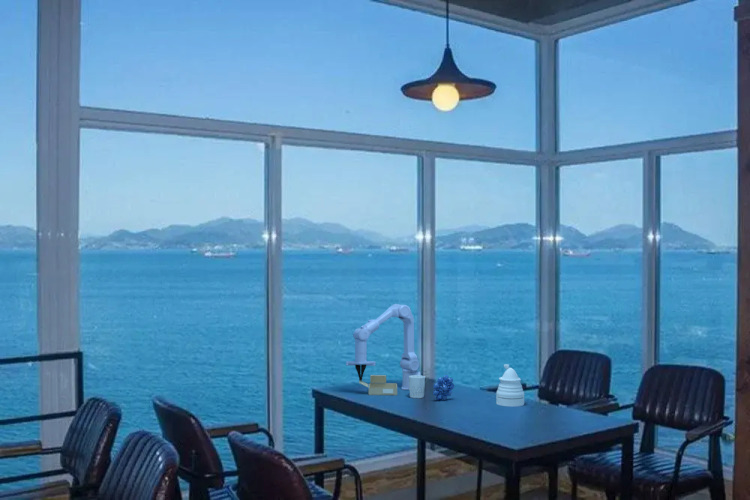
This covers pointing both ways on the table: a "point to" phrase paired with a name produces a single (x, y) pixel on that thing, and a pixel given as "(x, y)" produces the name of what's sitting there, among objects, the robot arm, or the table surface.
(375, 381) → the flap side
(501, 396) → the honey pot
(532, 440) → the table surface
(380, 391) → the carton
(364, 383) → the flap far
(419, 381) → the white cup
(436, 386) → the grapes
